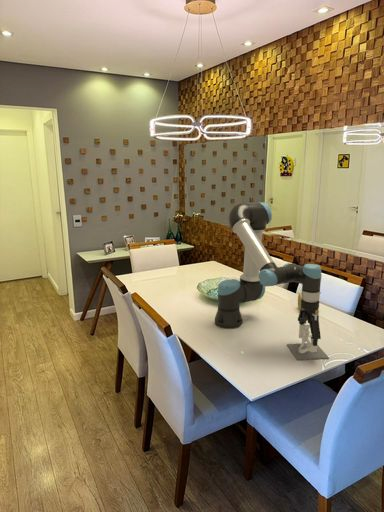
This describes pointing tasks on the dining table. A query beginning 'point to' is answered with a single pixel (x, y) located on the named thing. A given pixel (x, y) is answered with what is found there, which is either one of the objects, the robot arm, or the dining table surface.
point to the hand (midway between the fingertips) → (307, 344)
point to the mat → (307, 355)
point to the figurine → (305, 338)
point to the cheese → (300, 303)
